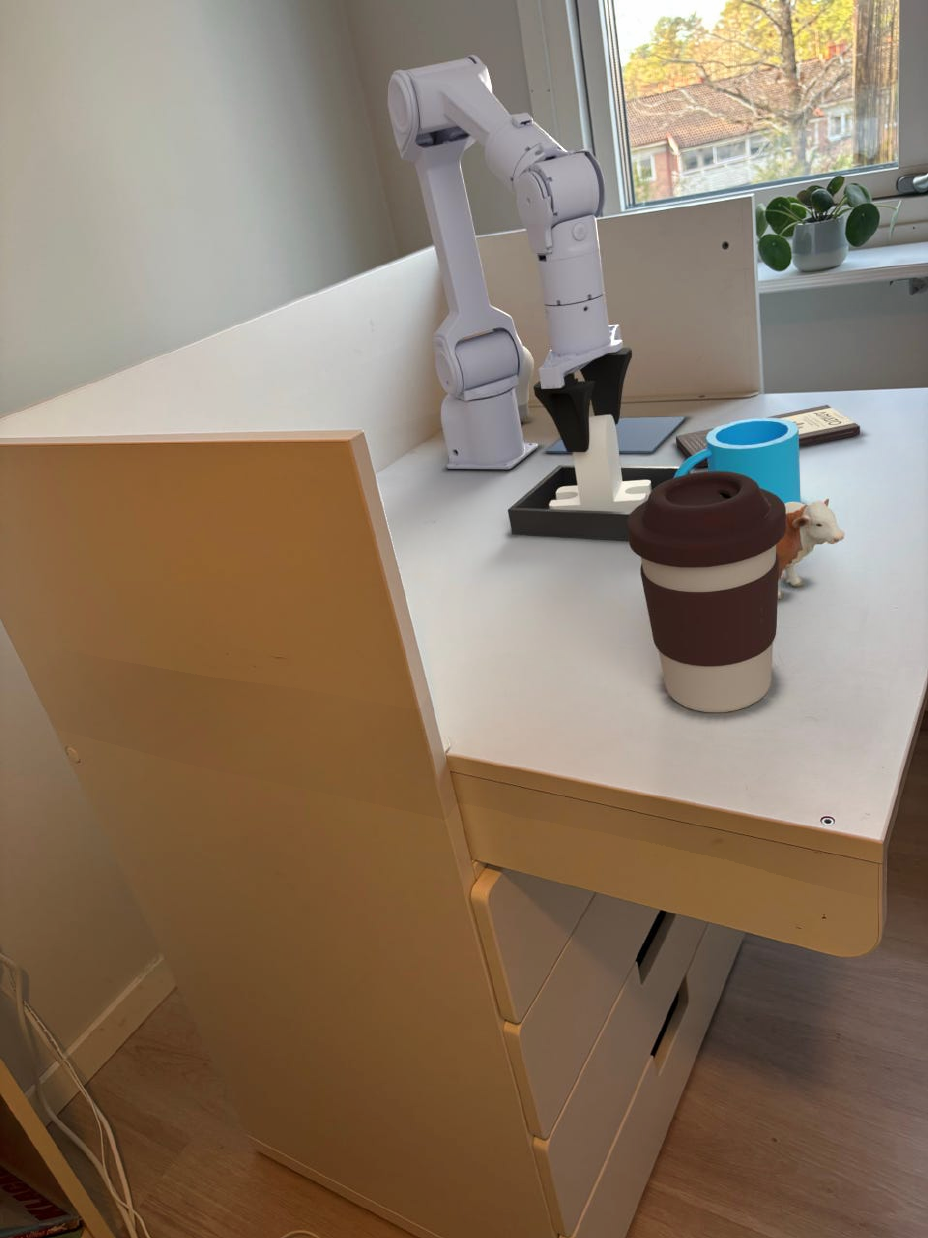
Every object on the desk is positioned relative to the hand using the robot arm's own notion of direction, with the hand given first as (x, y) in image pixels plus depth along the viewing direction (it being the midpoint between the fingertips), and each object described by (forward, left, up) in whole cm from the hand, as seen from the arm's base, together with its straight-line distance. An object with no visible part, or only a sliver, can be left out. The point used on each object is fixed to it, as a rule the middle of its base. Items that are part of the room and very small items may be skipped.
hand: (593, 437), depth 93 cm
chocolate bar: (+11, +21, -8) cm, 25 cm away
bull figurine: (+20, -14, -8) cm, 26 cm away
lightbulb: (-25, +29, -8) cm, 39 cm away
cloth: (-8, +23, -8) cm, 26 cm away
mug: (+14, 0, -8) cm, 16 cm away
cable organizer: (0, 0, -8) cm, 8 cm away
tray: (0, 0, -8) cm, 8 cm away
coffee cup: (+21, -28, -8) cm, 36 cm away
